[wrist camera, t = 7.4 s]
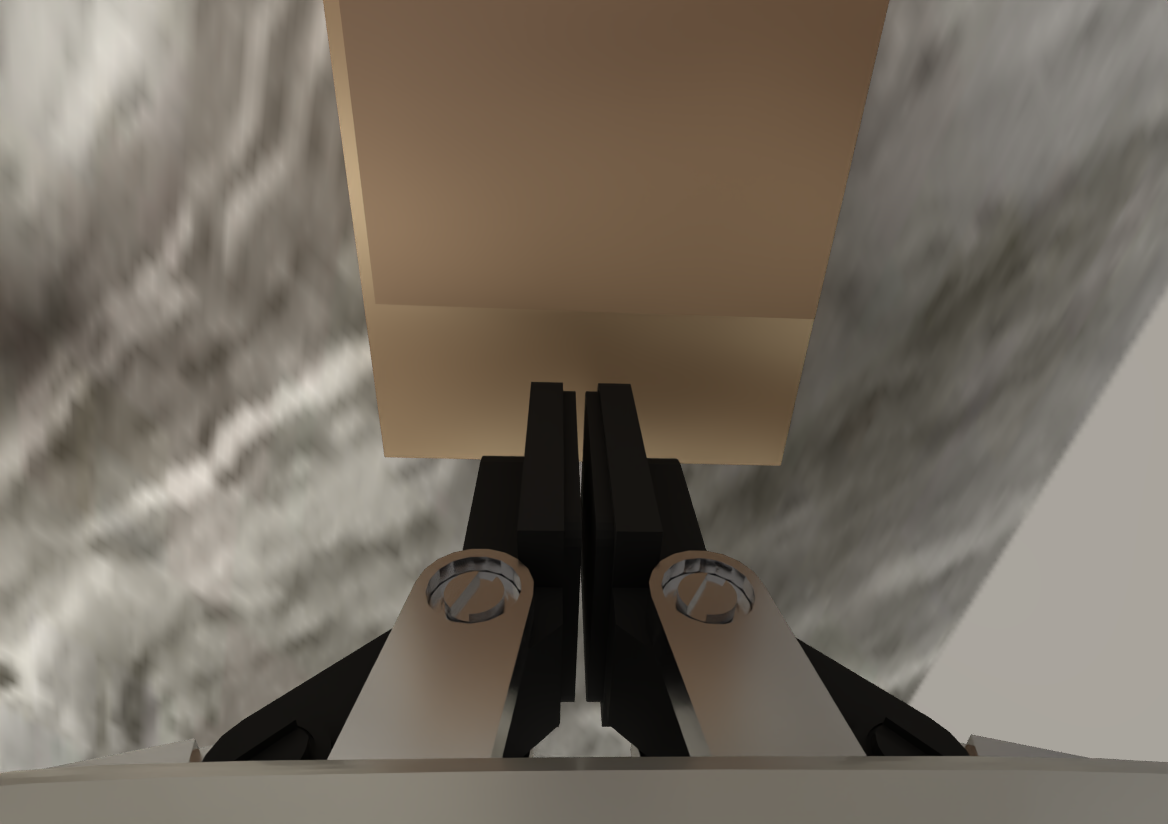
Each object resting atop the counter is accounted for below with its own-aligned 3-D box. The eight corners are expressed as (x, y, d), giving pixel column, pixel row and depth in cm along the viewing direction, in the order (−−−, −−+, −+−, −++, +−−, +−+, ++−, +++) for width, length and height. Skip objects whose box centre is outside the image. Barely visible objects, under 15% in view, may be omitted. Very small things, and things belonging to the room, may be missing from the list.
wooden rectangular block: (772, 271, 13) (814, 319, 11) (409, 257, 12) (375, 304, 10) (865, -212, 9) (956, -288, 7) (363, -245, 9) (297, -337, 7)
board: (768, 442, 16) (866, 640, 11) (394, 433, 16) (306, 633, 10) (1006, -672, 8) (1852, -2043, 3) (250, -740, 8) (-449, -2442, 2)
